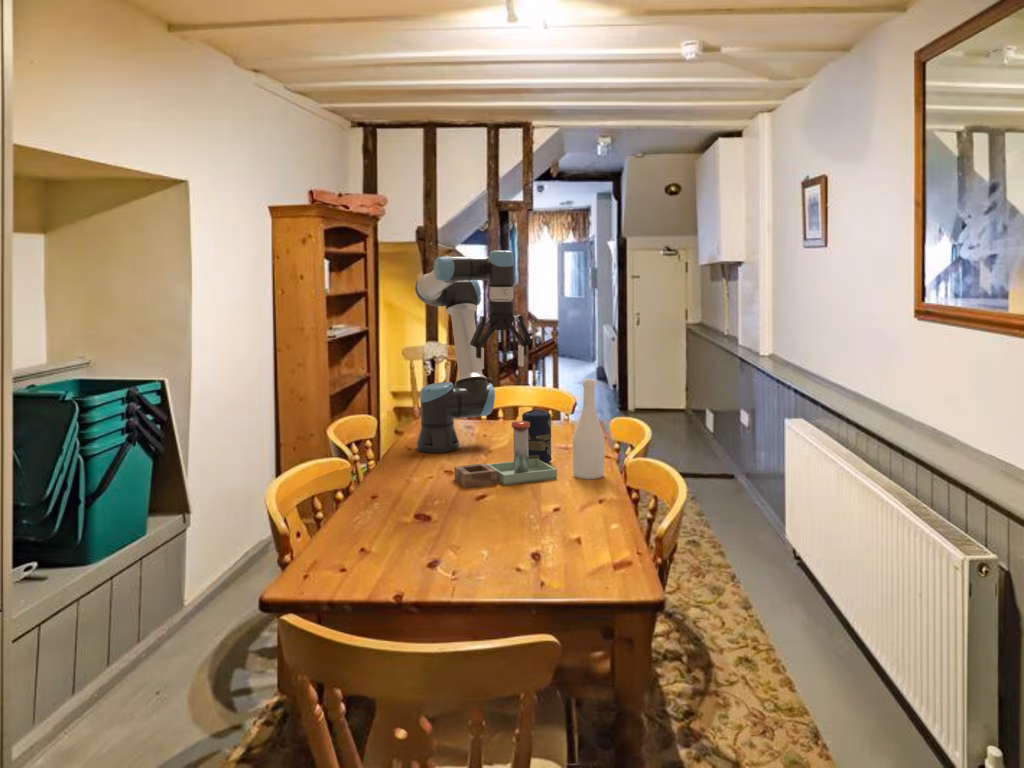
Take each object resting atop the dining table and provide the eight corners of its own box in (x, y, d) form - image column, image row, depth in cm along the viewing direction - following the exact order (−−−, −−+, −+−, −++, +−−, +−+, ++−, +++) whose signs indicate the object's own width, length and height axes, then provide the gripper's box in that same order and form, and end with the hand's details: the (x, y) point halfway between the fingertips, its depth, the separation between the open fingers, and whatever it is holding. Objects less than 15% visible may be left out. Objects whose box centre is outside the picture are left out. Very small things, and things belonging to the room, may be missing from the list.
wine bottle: (566, 476, 229) (566, 379, 225) (585, 470, 236) (586, 376, 232) (591, 481, 223) (592, 382, 218) (610, 475, 230) (611, 379, 225)
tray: (487, 473, 233) (487, 464, 233) (537, 467, 239) (537, 458, 239) (504, 485, 220) (504, 475, 220) (556, 478, 226) (556, 469, 226)
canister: (548, 467, 240) (548, 412, 237) (520, 465, 242) (519, 411, 239) (553, 459, 249) (553, 407, 247) (525, 458, 251) (525, 406, 249)
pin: (509, 473, 231) (508, 421, 229) (526, 471, 233) (525, 420, 231) (516, 477, 226) (515, 425, 224) (533, 475, 228) (532, 423, 226)
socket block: (454, 479, 227) (454, 466, 226) (485, 475, 231) (485, 463, 230) (465, 488, 218) (465, 474, 217) (497, 484, 221) (497, 471, 221)
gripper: (467, 302, 226) (468, 371, 230) (542, 300, 235) (541, 366, 239) (459, 300, 233) (460, 367, 236) (532, 298, 242) (532, 363, 246)
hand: (501, 367), depth 238 cm, fingers open, 13 cm apart
